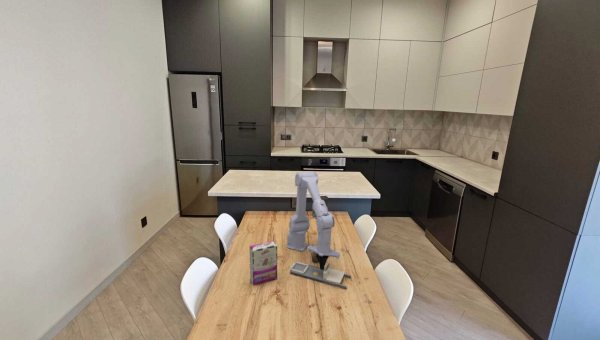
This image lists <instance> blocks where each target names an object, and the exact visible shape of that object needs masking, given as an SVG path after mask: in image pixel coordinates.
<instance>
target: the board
mask: <svg viewBox="0 0 600 340" xmlns="http://www.w3.org/2000/svg"><path fill="white" fill-rule="evenodd" d="M324 270H325V268H324V269H323V270H321V269H320V266H317V265H316V266H315V265H312V264H309V263H304V262H301V261H295V262H293V264H292V265H291V266H290V268H289V274H290V275H292V276H296V277H300V278H304V279H307V280H311V281H315V282H318V283H322V284H325V285H329V286H333V287H336V288H339V289H344V290H347V288H348V286H347V285H344V284H340V285H339V284H335V283H332V282H328V281H324V280H323V272H324ZM343 278H347V279H352V275H350V274H347V273H345V274H344V276H343Z"/></svg>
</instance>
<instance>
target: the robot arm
mask: <svg viewBox="0 0 600 340" xmlns="http://www.w3.org/2000/svg"><path fill="white" fill-rule="evenodd" d="M318 183H319V176H318V173H317V172H316V171H307V172H305V171H304V172H297V173H296V174H295V177H294V186H295V187H297V190H296V205H295V213H294V214H293V215H291V217H290V219H289V224H288V227H289V230H288V232H287V235H286V238H287V239H286V240H287V241H286V248H288V249H290V250H291V249H292V250H296V251H299V252H303V251H304V250H305V249H306V248H307V250H306V252H308V253H312V252H315V253H317V255H316V258H317V260H318V265H319V267H320V269H321V270H323V269H325V268H326V264H327V261H328V259H329V257H333V258H335V259H338V260H339V259H340V256H341V252H339V251H335V250H333V249H331V241H332V239H331V238H332V228H334V227H335V224H336V223H335V218H334V217H335V216H334V215H333V214H332V213H331V212H330V211H329V209H328V206H327V207H326V204H325V201H324V200H321V197H320V195H321V194H320V190H319V187H318ZM307 192H308V193H309V195H310V197H311V199H312V208H314V211H315V214H316V217H317V219H316V220H315V224H316V231H317V241H316V242H317V245H315V246H314V245H309V244H308V243H306V238H307V237H306V235H307V234H306V233H307V232H308V231H309V229H310V226H311V224H310V219H309V216H308V215H307V214H306V211H307V210H306V209H307V208H306V207H307V206H306V205H307V196H308V195H307V194H308V193H307ZM313 201H314V203H313Z"/></svg>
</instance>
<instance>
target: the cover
mask: <svg viewBox="0 0 600 340" xmlns="http://www.w3.org/2000/svg"><path fill="white" fill-rule="evenodd" d="M324 269H325V270H324V272H323V280H324V281H328V282H332V283H335V284H339V285H341V283H342V281H343V278H344V277H343V276H344V274H346V273H345V272H344V271H341V270H338V269H334V268H332V262H328V263H327V264H326V266H325V267H324Z"/></svg>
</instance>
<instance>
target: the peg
mask: <svg viewBox="0 0 600 340" xmlns="http://www.w3.org/2000/svg"><path fill="white" fill-rule="evenodd" d="M316 255H317V253H315V252H311V262H312V263H313V264H319V262H318V260H317V258H316Z"/></svg>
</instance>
